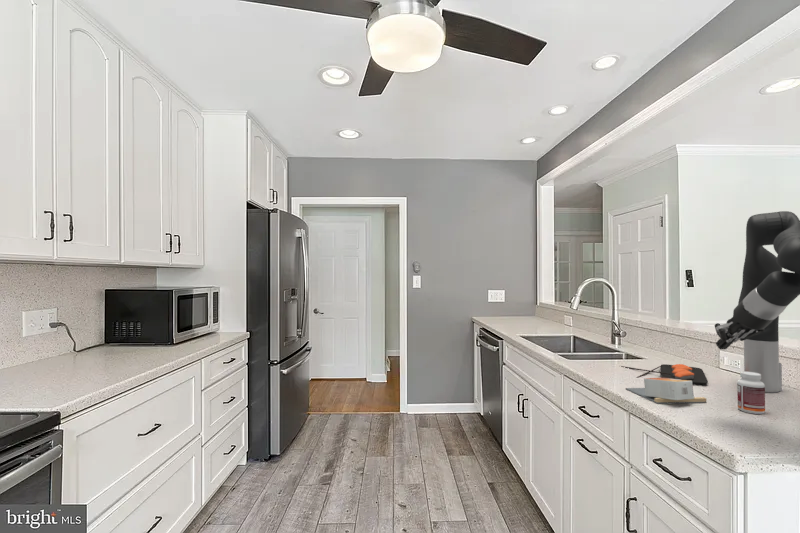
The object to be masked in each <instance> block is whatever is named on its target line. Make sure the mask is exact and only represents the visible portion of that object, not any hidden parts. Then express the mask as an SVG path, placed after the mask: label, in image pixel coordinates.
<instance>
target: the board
mask: <svg viewBox="0 0 800 533" xmlns="http://www.w3.org/2000/svg"><path fill="white" fill-rule="evenodd" d="M625 390H626V391H628V390H629V392H630V391H631V393H632V394H636V395H638V396H639V397H642V398H644V399H646V400H649V401H650V402H652V403H655V404H657V405H661V404H662V405H663V404H665V405H666V404H707V398H706V397H703V396H702V397H701V396H697V397H696V396H694V399H685V400H671V399H663V398H657V397H650V396H646V395H645V387H626V388H625Z"/></svg>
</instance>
